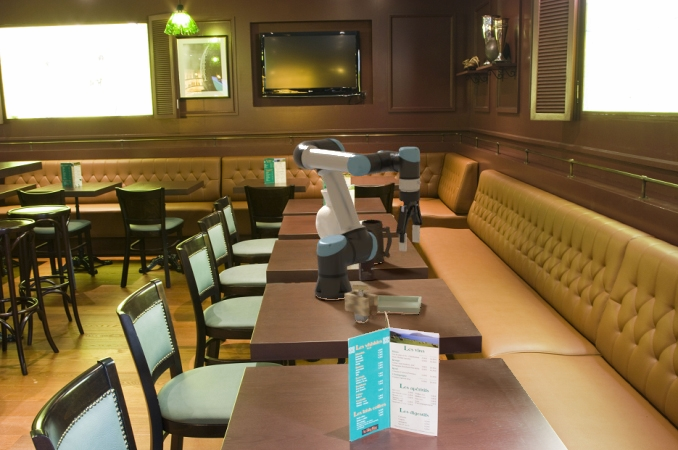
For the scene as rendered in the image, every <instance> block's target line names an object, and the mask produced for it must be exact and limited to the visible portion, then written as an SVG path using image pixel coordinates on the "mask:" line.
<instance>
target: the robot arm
mask: <svg viewBox="0 0 678 450" xmlns="http://www.w3.org/2000/svg"><path fill="white" fill-rule="evenodd" d="M292 158H293V161H294V164H295V165H296V166H297V167H298V168H300V169H302V170H307V171H308V170H310V171H311V170H316V173H317V175H318V176H319V177H321V178H322V180H323V182H324V186H325V189H327V192H328V195H329V198H330V201H331V204H332V206H333V209H334V212H335V215H336V218H337V221H338V224H339V227H340V230H341V232H340V234H339V235H333V236H327V237H324V238H322V239H321V238H320V239H319V240H318V241H317V244H316V259H317V280H316V284H315V288H314V296H315V295H317V296H318V297H321V298H327V299H338V298H344V297H345V295H344V294H345V293H348V292H351V291H353V288H352V284H351V282H350V279H349V277H348V267H351V266H354V265H359V263H364V262H366V261H369V260H371V259H372V258H374V256H375V255H376V251H377V240H376V238H375V236H374V235H372V233H370V232H367V230H366V227H365V226H363V225H361V224H362V223H361V221H360V219H359V216H358V212H357V210H356V207H355V205H354V204H355V203H354V202H353V199H352V195H351V193H350V190H349V187H348V184H347V181H346V178H345V176H344V173H348V174H350V175H351V176H353V177H364V176H369V175H374V174H375V175H376V174H382V173H383V174H384V173H388V172H390V173H391V172H392V173H398V189H399V191H398V195H399V196H398V198H399V199H398V200H399V201H400V202H403V204H402V205H399V213H398V218H397V219H398V220H397V225H396V230H395V233H396V234H398V251H399V252H407V250H408V245H407V243H408V239H407V236H408V234H407V229H408V226H409V225H408V224H409V223H410V219H411V221H412V224H413V225H412V229H411V230H412V231H411V232H412V233H411V234H412V243H418V244H419V243H421V226H422V225H423V218H422V213H421V206H420V200H421V190H420V188H421V184H422V181H421V173H420V172H421V153H420V149H419V147H417V146H402V147H401V146H400V148H399V149H398V151H393V150H387V149H386V150H379V151H377V152H371V153H359V152H358V153H357V152H348V151H346V150H345V147H344V145H343V144H342V143H341V141H339V140H338V139H335V138H323V139H313V140H304V141H301V142H300V143H299V144H297V145H296V146H295V148H294V150H293V153H292Z"/></svg>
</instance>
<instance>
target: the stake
mask: <svg viewBox="0 0 678 450" xmlns="http://www.w3.org/2000/svg"><path fill="white" fill-rule="evenodd" d="M351 287H352V291H354V290H358V296H362V297H364V293H363V291H368V290H369V289H370V285H368V284H367V285H366V284H353V285H351ZM369 316H370V315H368V316H362V315H359V314H356V313H354V321H355V320H357V321H362V322H365V321H366V320H367V319H368V318H370V317H369Z"/></svg>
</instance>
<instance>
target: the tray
mask: <svg viewBox="0 0 678 450" xmlns="http://www.w3.org/2000/svg"><path fill="white" fill-rule="evenodd" d="M377 295H378V311H380V312H384V311H386V312H388V311H390V312H403V313H416V314H419V315H420V313H419V312H421V308H422V304H421V303H422V300H423V299H422V296H417V295H415V296H414V295H387V294H386V295H379V294H377ZM420 307H421V308H420ZM383 315H389V314H388V313H387V314H385V313H384V314H383Z"/></svg>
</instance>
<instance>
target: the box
mask: <svg viewBox="0 0 678 450" xmlns="http://www.w3.org/2000/svg"><path fill="white" fill-rule="evenodd" d="M358 279H359V280H360V282H362V281H372V280H373V281H374V280H375V265H374V258H372V259H371V260H369V261H366V262H364V263H358Z"/></svg>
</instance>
